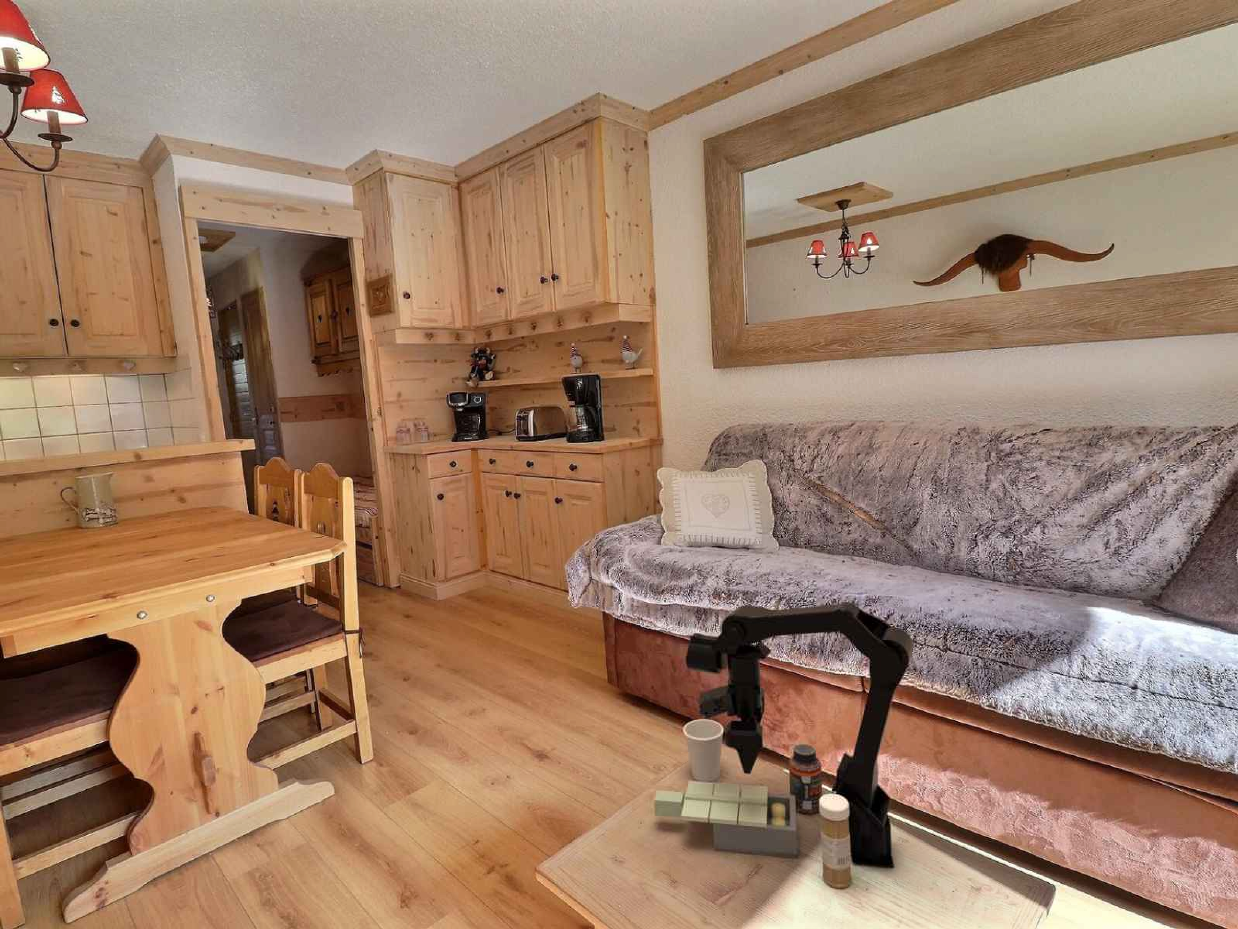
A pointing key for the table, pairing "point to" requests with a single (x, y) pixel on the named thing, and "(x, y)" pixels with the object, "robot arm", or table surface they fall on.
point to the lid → (715, 804)
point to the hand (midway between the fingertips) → (748, 759)
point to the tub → (763, 831)
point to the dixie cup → (704, 748)
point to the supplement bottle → (805, 778)
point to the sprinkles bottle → (835, 840)
